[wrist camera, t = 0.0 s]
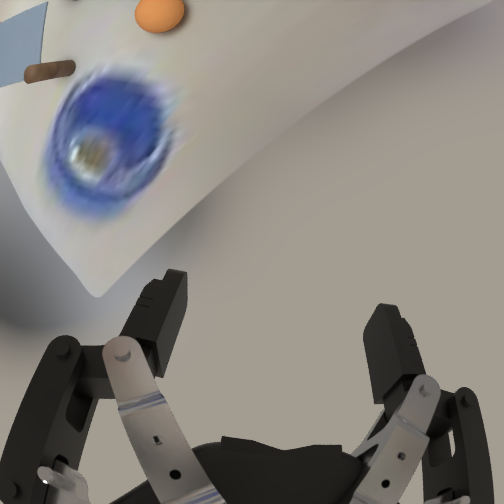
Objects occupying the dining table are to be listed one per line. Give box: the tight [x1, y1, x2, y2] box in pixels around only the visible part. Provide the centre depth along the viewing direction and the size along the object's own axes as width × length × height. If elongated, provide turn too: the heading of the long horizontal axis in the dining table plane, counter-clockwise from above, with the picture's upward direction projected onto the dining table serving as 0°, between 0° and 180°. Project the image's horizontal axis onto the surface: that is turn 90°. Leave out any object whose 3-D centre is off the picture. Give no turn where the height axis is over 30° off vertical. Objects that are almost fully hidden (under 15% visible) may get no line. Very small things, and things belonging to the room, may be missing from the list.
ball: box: [135, 0, 184, 33], centre depth 24 cm, size 6×6×6 cm
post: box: [24, 60, 76, 84], centre depth 27 cm, size 3×3×9 cm
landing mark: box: [0, 2, 48, 87], centre depth 26 cm, size 14×14×1 cm
